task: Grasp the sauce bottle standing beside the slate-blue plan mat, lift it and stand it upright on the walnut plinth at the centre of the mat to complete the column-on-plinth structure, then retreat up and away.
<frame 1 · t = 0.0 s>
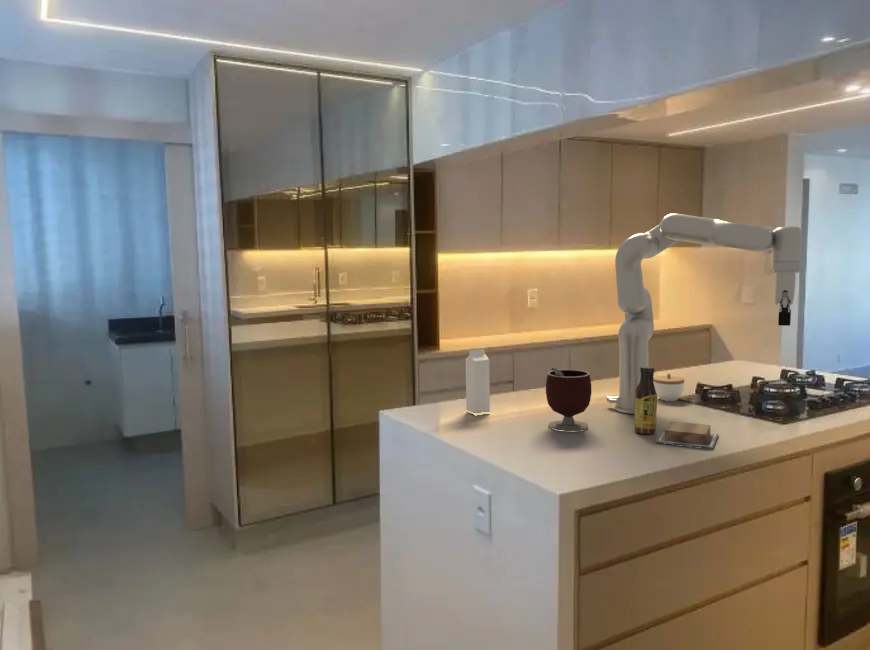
hand: (784, 323, 208), 31 cm above the countertop, tool pointing down, fingers open, 9 cm apart
lidded jar: (668, 399, 248), on the countertop
sauce bottle: (645, 432, 205), on the countertop
mate gourd: (566, 428, 212), on the countertop
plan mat: (687, 439, 196), on the countertop
milk: (478, 414, 232), on the countertop
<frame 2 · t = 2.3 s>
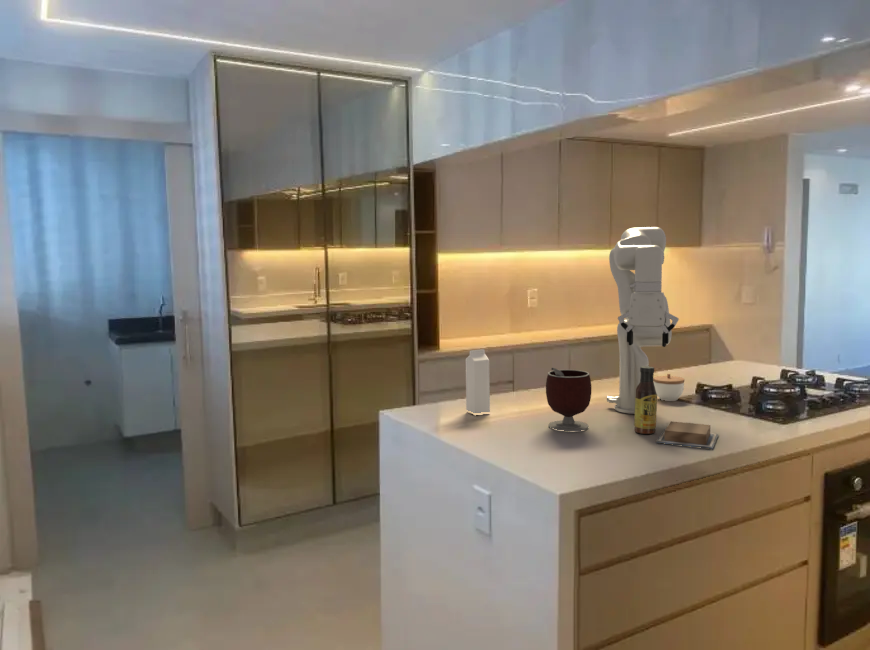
hand: (647, 345, 202), 26 cm above the countertop, tool pointing down, fingers open, 9 cm apart
nothing on the countertop moved.
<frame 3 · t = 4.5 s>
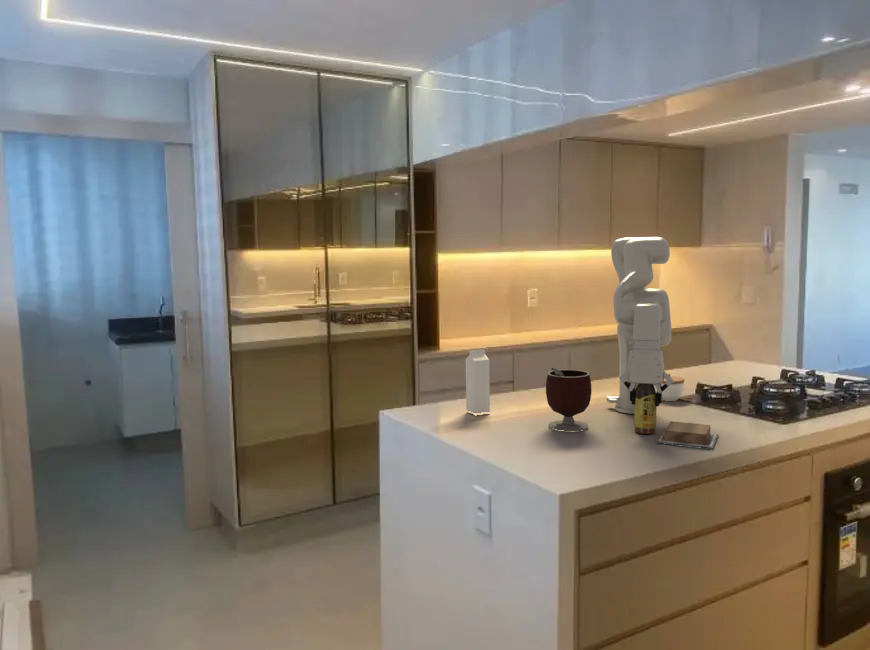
hand: (645, 404, 204), 9 cm above the countertop, tool pointing down, fingers closed on sauce bottle, 6 cm apart
sauce bottle: (645, 432, 205), on the countertop, touching gripper
everything else where it was.
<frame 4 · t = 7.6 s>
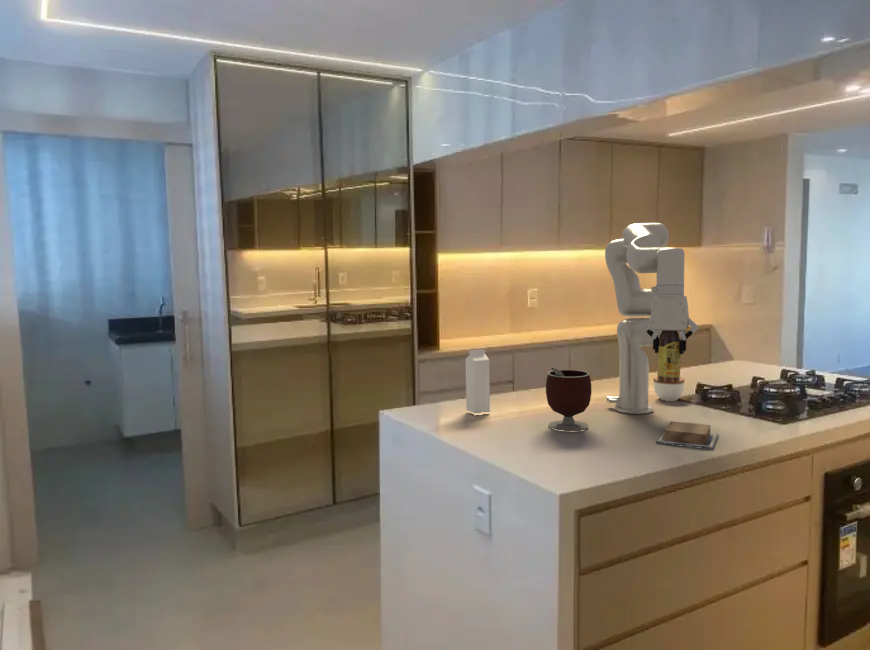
hand: (669, 352, 197), 25 cm above the countertop, tool pointing down, fingers closed on sauce bottle, 6 cm apart
sauce bottle: (668, 382, 198), point 16 cm above the countertop, touching gripper
everything else where it was.
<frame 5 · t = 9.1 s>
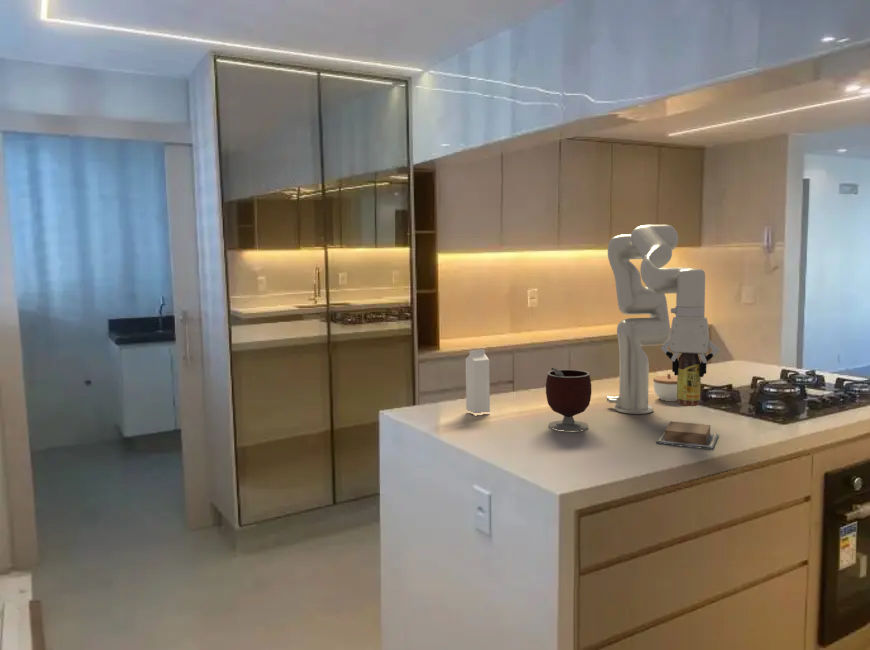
hand: (689, 374, 194), 19 cm above the countertop, tool pointing down, fingers closed on sauce bottle, 6 cm apart
sauce bottle: (688, 405, 194), point 10 cm above the countertop, touching gripper
everything else where it was.
when the fingers open (14 cm above the countertop, at t = 10.5 s): sauce bottle drops 1 cm, resting on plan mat.
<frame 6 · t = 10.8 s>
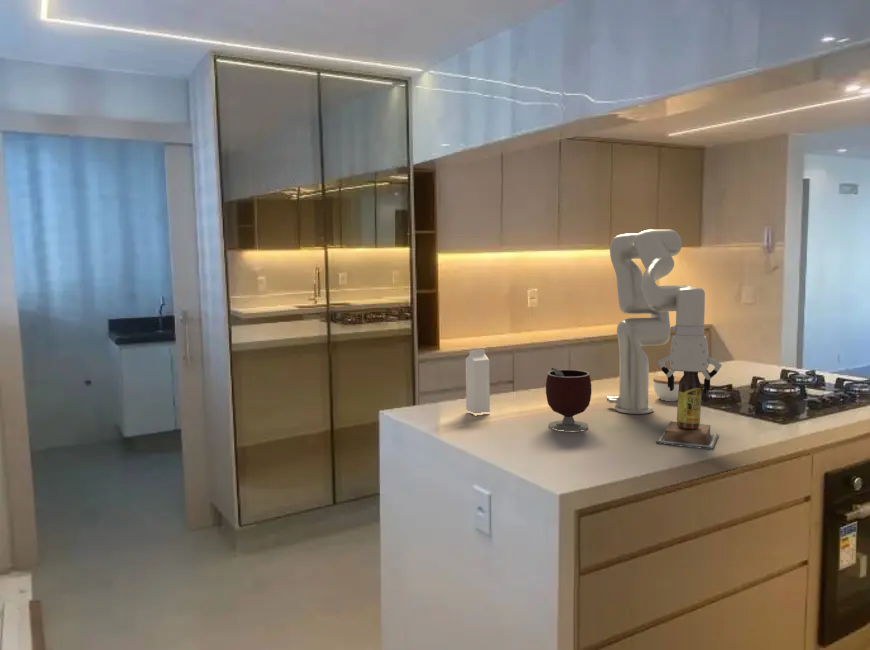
hand: (688, 391, 194), 14 cm above the countertop, tool pointing down, fingers open, 8 cm apart
sauce bottle: (688, 428, 195), point 3 cm above the countertop, touching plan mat
everything else where it was.
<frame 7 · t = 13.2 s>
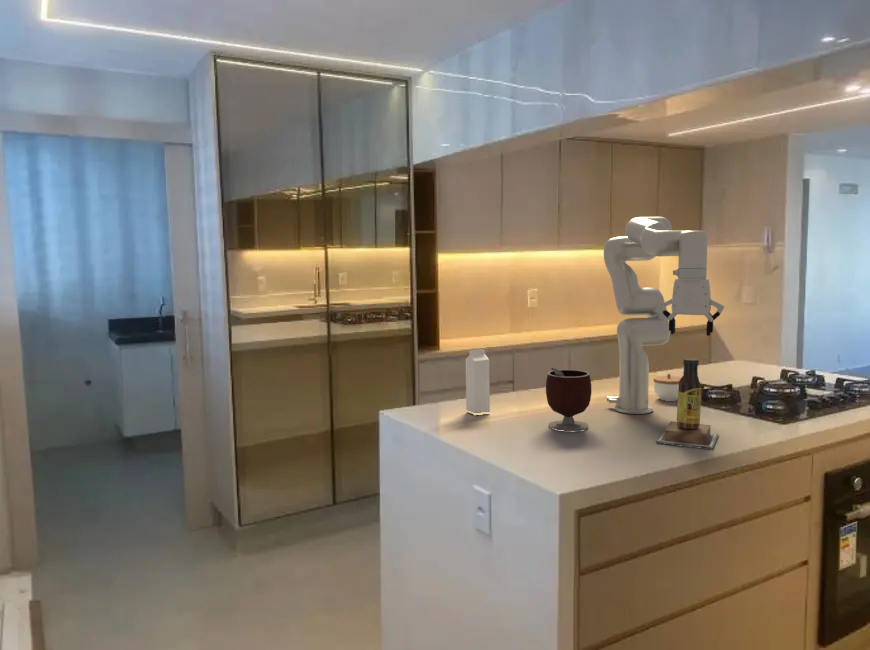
hand: (690, 334, 195), 30 cm above the countertop, tool pointing down, fingers open, 9 cm apart
nothing on the countertop moved.
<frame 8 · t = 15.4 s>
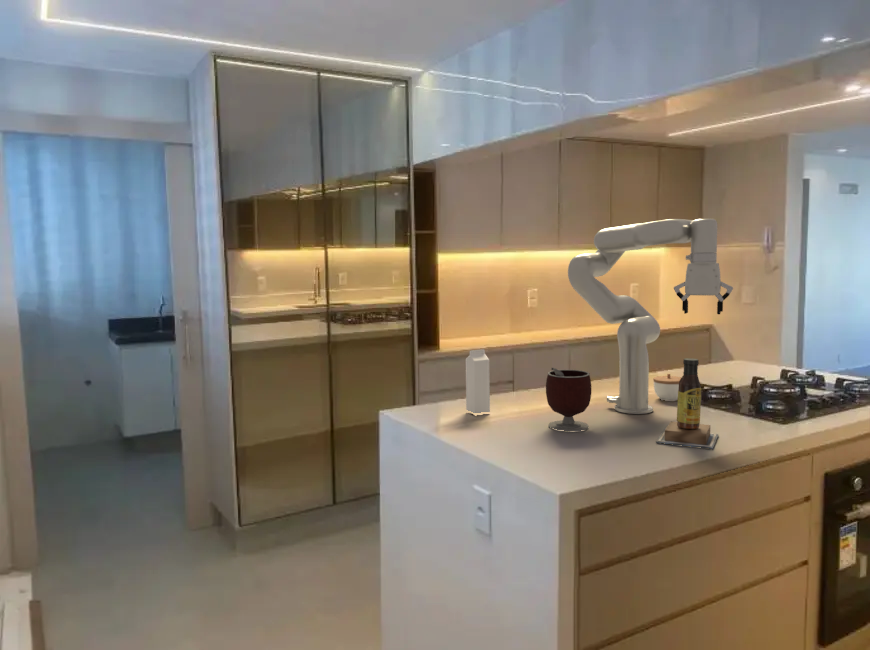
hand: (702, 313, 213), 34 cm above the countertop, tool pointing down, fingers open, 9 cm apart
nothing on the countertop moved.
at the end: sauce bottle inside the target area on the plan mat (0.3 cm from its centre), point 3.4 cm above the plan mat's base; sauce bottle tilted 0°; the gripper is holding nothing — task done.
